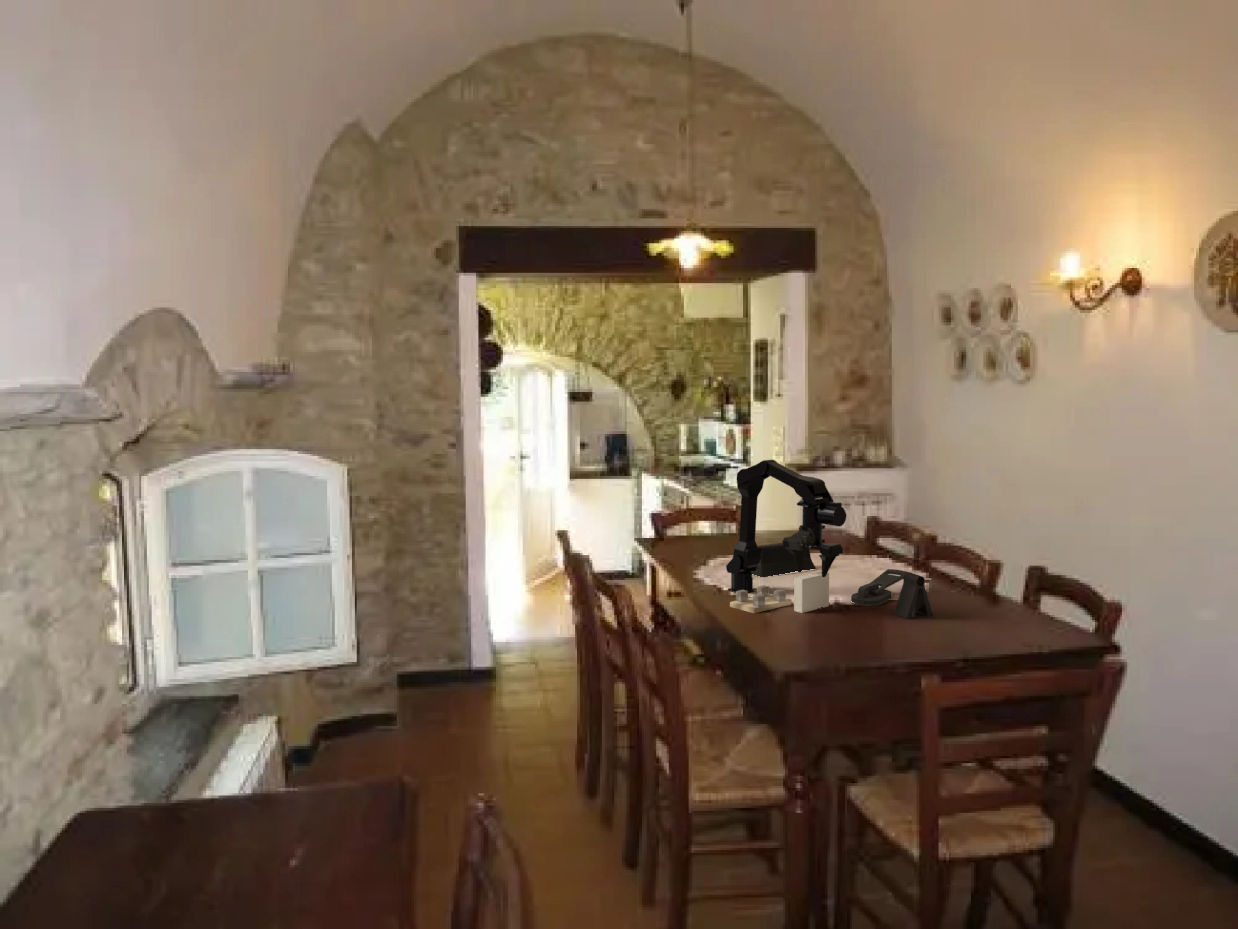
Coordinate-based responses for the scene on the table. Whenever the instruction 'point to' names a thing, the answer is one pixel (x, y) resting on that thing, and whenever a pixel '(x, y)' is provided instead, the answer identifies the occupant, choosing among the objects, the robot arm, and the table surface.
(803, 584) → the cabinet door panel
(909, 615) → the black pivot stand
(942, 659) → the table surface
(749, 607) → the hinge clip plate
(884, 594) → the zipper pull
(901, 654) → the table surface
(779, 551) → the barrier
